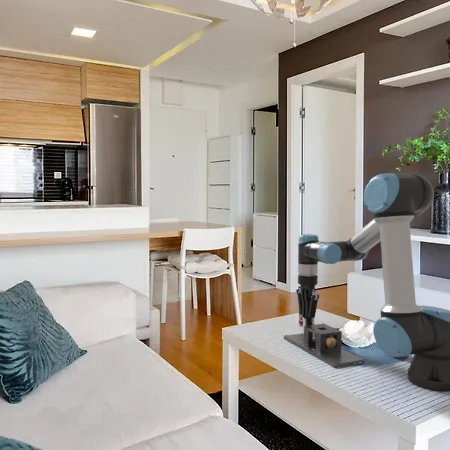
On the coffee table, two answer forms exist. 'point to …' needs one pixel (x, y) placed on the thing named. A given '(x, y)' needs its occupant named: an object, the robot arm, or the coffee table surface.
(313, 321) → the soda can
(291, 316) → the coffee table surface
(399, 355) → the robot arm
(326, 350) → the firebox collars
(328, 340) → the wooden dowel
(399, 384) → the coffee table surface
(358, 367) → the coffee table surface
